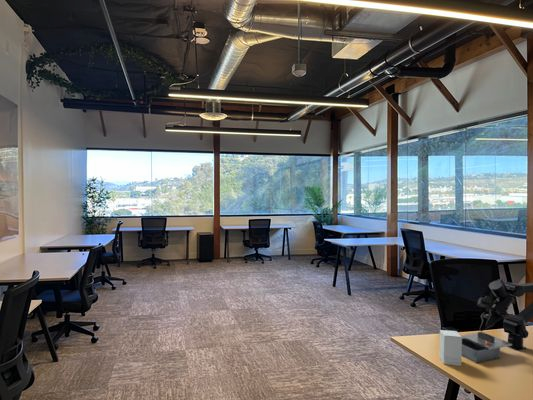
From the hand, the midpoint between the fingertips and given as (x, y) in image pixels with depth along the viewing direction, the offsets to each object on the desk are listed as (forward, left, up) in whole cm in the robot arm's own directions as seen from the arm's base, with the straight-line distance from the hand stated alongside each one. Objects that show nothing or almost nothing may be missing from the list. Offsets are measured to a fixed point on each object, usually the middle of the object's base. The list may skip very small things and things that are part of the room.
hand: (483, 328), depth 171 cm
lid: (-2, 0, -6) cm, 7 cm away
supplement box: (+22, +2, -12) cm, 25 cm away
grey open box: (+5, 0, -12) cm, 13 cm away
